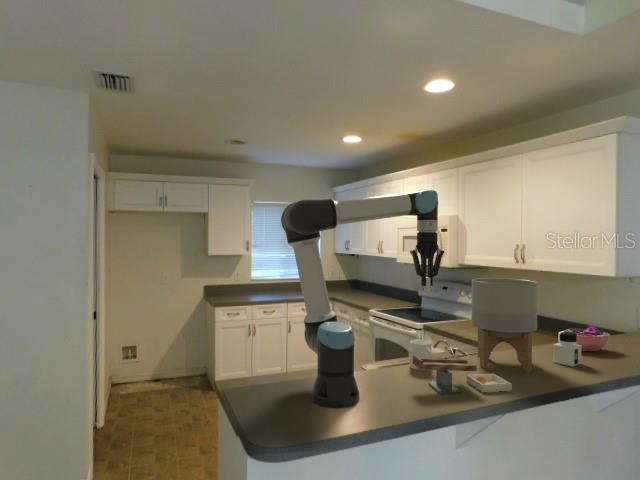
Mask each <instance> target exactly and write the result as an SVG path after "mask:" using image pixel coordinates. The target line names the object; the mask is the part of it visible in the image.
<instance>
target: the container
mask: <svg viewBox="0 0 640 480" xmlns="http://www.w3.org/2000/svg"><path fill="white" fill-rule="evenodd" d="M557 337H558V338H557V339H558V342H557V343H554V344H553V351H552V352H553V355H552V357H553V359H552V360H553V363H555V364H559V365H564V366H568V367H576V366H578V365H581V364H582V350H581V345H577V335H576V334H575V333H573V332H569V331H564V330H562V331H559V332H558V335H557Z"/></svg>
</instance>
